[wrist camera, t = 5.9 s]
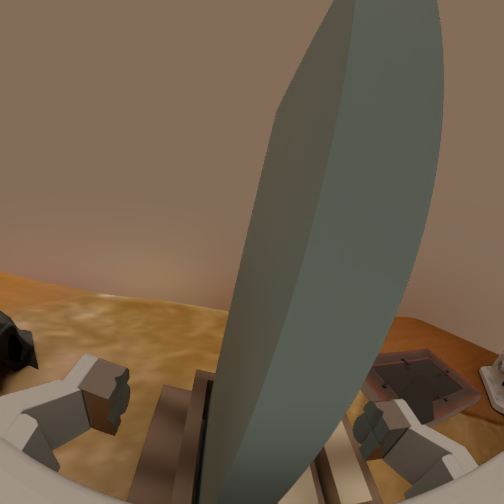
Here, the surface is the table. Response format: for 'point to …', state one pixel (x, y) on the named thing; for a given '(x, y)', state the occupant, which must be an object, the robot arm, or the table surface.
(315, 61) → the sheet
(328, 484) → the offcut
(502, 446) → the table surface
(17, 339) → the vase
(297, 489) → the block
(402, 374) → the picture frame
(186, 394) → the rack
